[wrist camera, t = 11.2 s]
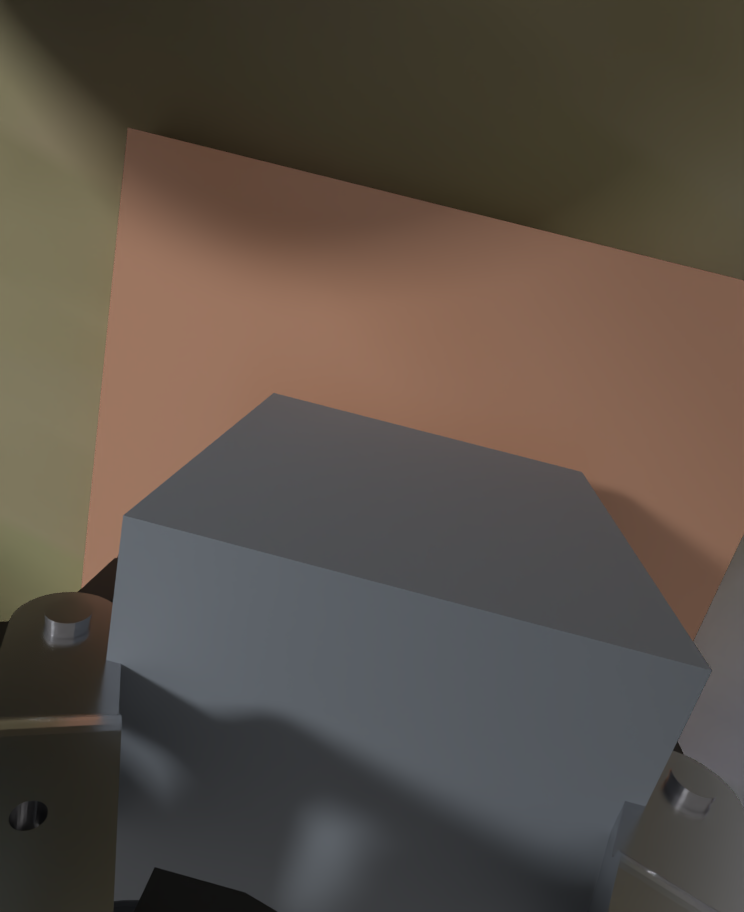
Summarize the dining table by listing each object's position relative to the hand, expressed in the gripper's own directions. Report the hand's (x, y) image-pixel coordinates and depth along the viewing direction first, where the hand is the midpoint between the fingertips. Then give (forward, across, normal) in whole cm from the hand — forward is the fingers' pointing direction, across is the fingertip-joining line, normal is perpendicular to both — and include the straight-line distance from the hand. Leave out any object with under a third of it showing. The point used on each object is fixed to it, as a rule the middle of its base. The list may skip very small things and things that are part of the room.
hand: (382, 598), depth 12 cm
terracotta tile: (+4, 0, 0) cm, 4 cm away
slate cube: (+1, 0, 0) cm, 1 cm away
